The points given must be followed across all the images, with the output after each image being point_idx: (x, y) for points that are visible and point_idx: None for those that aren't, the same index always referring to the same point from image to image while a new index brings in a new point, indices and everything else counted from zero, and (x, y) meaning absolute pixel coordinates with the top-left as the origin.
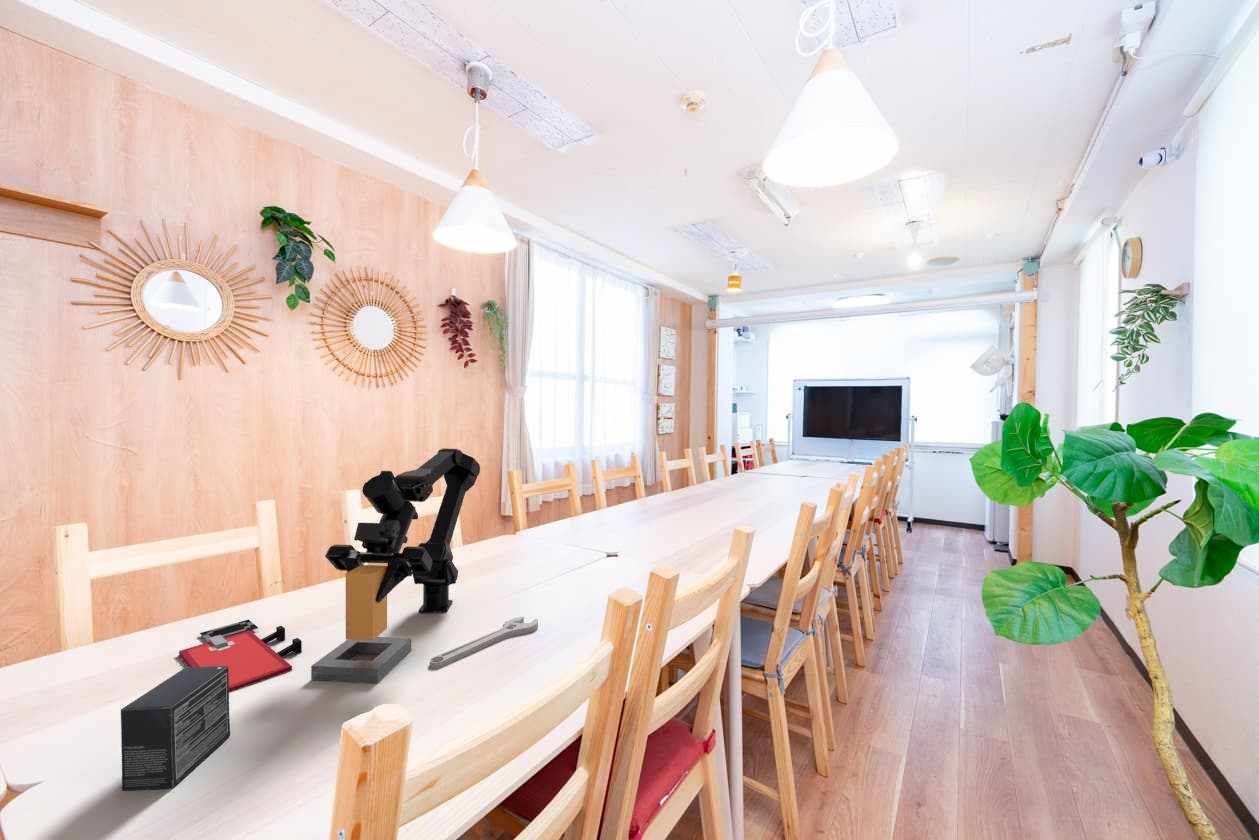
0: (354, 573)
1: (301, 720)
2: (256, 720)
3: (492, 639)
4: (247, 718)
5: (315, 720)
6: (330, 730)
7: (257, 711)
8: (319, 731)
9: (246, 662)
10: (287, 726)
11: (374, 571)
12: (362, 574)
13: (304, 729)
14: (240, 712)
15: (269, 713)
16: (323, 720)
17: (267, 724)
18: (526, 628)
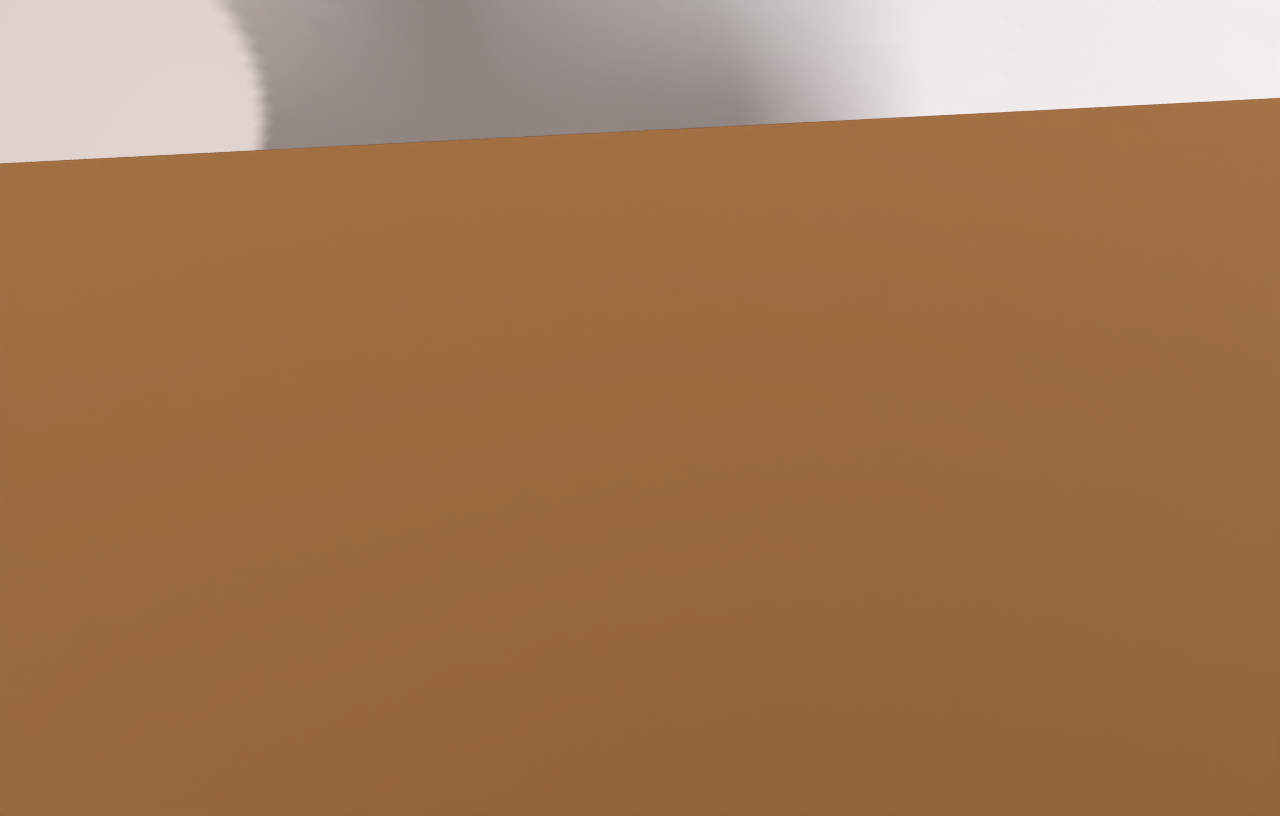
0: (1060, 153)
1: (478, 77)
2: (718, 54)
3: None
4: (779, 63)
5: (396, 84)
6: (239, 19)
7: (789, 119)
8: (297, 7)
9: None
10: (510, 28)
11: (141, 696)
12: (612, 161)
13: (396, 15)
14: (866, 102)
15: (709, 111)
16: (348, 89)
17: (630, 32)
18: None
